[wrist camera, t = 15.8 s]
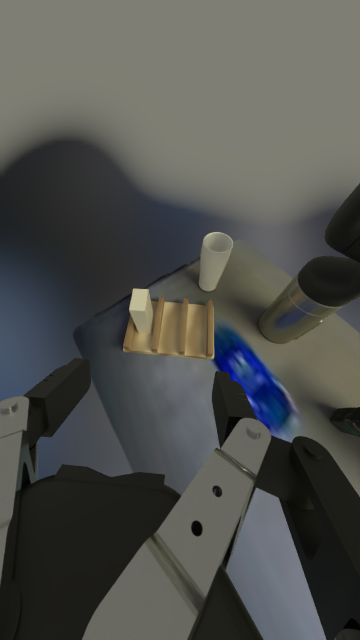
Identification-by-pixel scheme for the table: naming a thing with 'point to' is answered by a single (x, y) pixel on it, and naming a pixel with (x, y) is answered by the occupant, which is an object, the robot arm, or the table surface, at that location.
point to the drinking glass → (214, 259)
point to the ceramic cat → (347, 420)
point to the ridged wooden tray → (175, 331)
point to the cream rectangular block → (142, 310)
